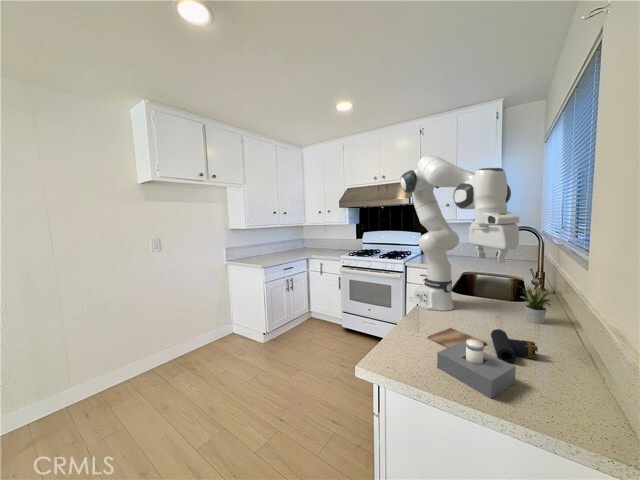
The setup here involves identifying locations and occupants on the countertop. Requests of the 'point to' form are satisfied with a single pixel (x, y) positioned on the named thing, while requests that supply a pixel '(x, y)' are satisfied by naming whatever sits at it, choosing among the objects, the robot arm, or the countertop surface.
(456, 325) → the countertop surface
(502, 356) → the pipe connector
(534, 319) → the house plant
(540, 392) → the countertop surface
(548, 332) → the countertop surface
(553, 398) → the countertop surface
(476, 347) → the plug
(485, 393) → the socket block
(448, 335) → the pad
